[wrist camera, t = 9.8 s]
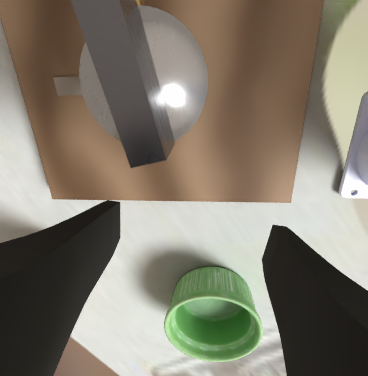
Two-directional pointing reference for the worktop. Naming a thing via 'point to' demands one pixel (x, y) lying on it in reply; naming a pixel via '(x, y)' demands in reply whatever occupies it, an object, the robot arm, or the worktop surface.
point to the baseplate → (209, 118)
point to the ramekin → (213, 316)
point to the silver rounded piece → (140, 75)
